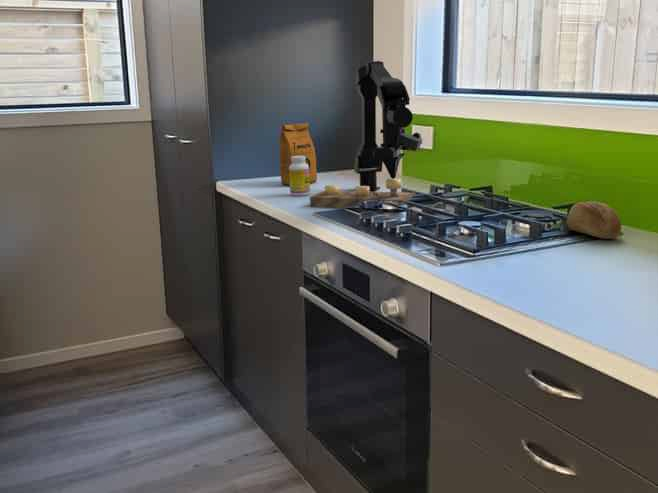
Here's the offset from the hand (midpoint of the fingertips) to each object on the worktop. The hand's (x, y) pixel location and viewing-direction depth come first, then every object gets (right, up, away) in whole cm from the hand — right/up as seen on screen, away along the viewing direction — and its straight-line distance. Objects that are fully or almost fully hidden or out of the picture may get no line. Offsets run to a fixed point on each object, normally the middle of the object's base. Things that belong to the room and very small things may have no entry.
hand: (393, 178), depth 205 cm
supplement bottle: (-29, -3, +27) cm, 40 cm away
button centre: (-9, -7, +6) cm, 13 cm away
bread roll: (+43, -18, -41) cm, 62 cm away
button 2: (0, -5, +1) cm, 5 cm away
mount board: (-9, -7, +6) cm, 13 cm away
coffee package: (-30, +3, +49) cm, 57 cm away
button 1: (-18, -6, +10) cm, 21 cm away
